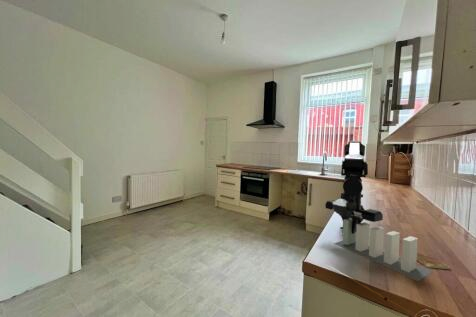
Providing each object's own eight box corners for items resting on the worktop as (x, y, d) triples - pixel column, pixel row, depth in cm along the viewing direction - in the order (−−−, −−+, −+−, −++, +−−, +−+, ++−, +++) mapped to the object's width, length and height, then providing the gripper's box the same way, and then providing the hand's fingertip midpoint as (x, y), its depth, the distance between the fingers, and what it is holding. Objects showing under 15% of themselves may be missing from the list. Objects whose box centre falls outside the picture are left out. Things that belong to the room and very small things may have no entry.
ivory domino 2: (376, 252, 70) (378, 226, 70) (382, 254, 68) (384, 228, 68) (368, 255, 67) (370, 228, 67) (374, 257, 66) (376, 230, 66)
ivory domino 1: (363, 246, 74) (364, 222, 74) (368, 248, 72) (369, 223, 72) (355, 249, 71) (356, 224, 71) (360, 251, 70) (361, 225, 69)
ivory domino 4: (408, 265, 62) (410, 236, 62) (416, 268, 60) (417, 238, 60) (400, 269, 60) (402, 239, 59) (408, 272, 58) (410, 241, 58)
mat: (350, 239, 81) (350, 238, 81) (433, 272, 59) (433, 271, 59) (334, 244, 76) (334, 243, 76) (418, 282, 54) (418, 281, 54)
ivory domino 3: (391, 258, 66) (393, 230, 66) (398, 260, 64) (399, 232, 64) (383, 261, 63) (385, 233, 63) (390, 264, 62) (392, 235, 62)
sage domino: (350, 240, 77) (351, 217, 77) (355, 242, 76) (356, 218, 76) (342, 243, 75) (343, 219, 75) (347, 245, 73) (348, 220, 73)
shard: (401, 252, 72) (401, 247, 72) (425, 254, 71) (425, 249, 71) (425, 270, 61) (426, 264, 61) (454, 273, 60) (454, 267, 60)
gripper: (316, 188, 79) (315, 227, 80) (366, 198, 63) (363, 247, 64) (334, 186, 85) (333, 223, 85) (384, 195, 69) (382, 240, 69)
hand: (350, 232), depth 76 cm, fingers closed on sage domino, 2 cm apart
